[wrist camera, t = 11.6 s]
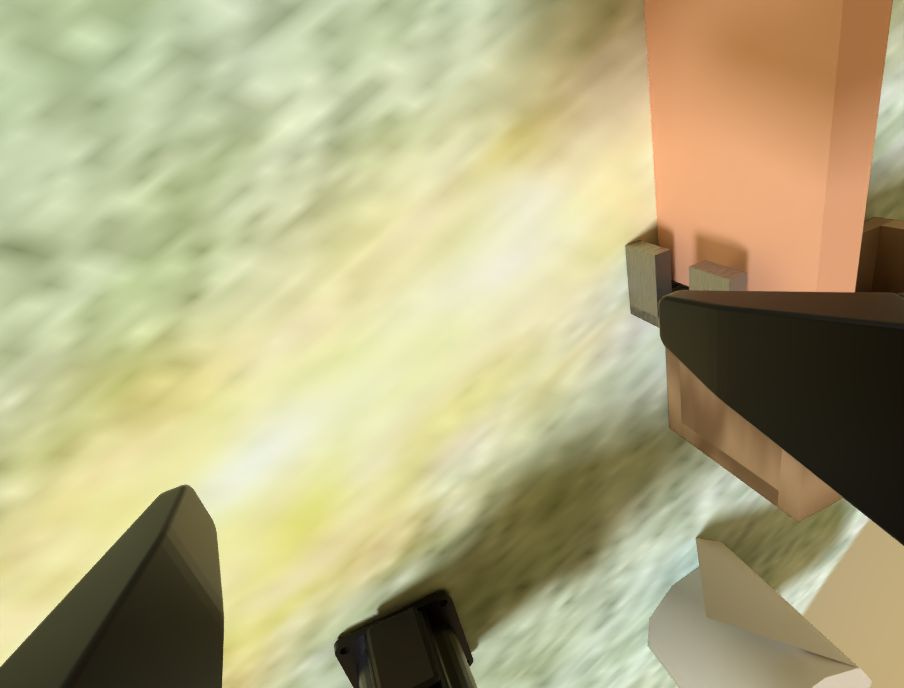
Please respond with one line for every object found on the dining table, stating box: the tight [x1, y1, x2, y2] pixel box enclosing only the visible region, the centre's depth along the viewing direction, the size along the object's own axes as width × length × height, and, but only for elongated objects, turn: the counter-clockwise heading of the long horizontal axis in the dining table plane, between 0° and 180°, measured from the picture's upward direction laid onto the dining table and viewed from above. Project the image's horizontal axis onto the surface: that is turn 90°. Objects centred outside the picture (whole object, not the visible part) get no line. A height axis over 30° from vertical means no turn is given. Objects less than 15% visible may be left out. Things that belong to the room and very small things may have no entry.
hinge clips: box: [626, 241, 747, 328], centre depth 22 cm, size 4×5×6 cm
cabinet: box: [666, 217, 904, 522], centre depth 25 cm, size 8×14×8 cm, turn 104°
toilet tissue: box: [648, 538, 872, 688], centre depth 33 cm, size 9×13×9 cm
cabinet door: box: [644, 0, 893, 292], centre depth 19 cm, size 12×2×8 cm, turn 15°
